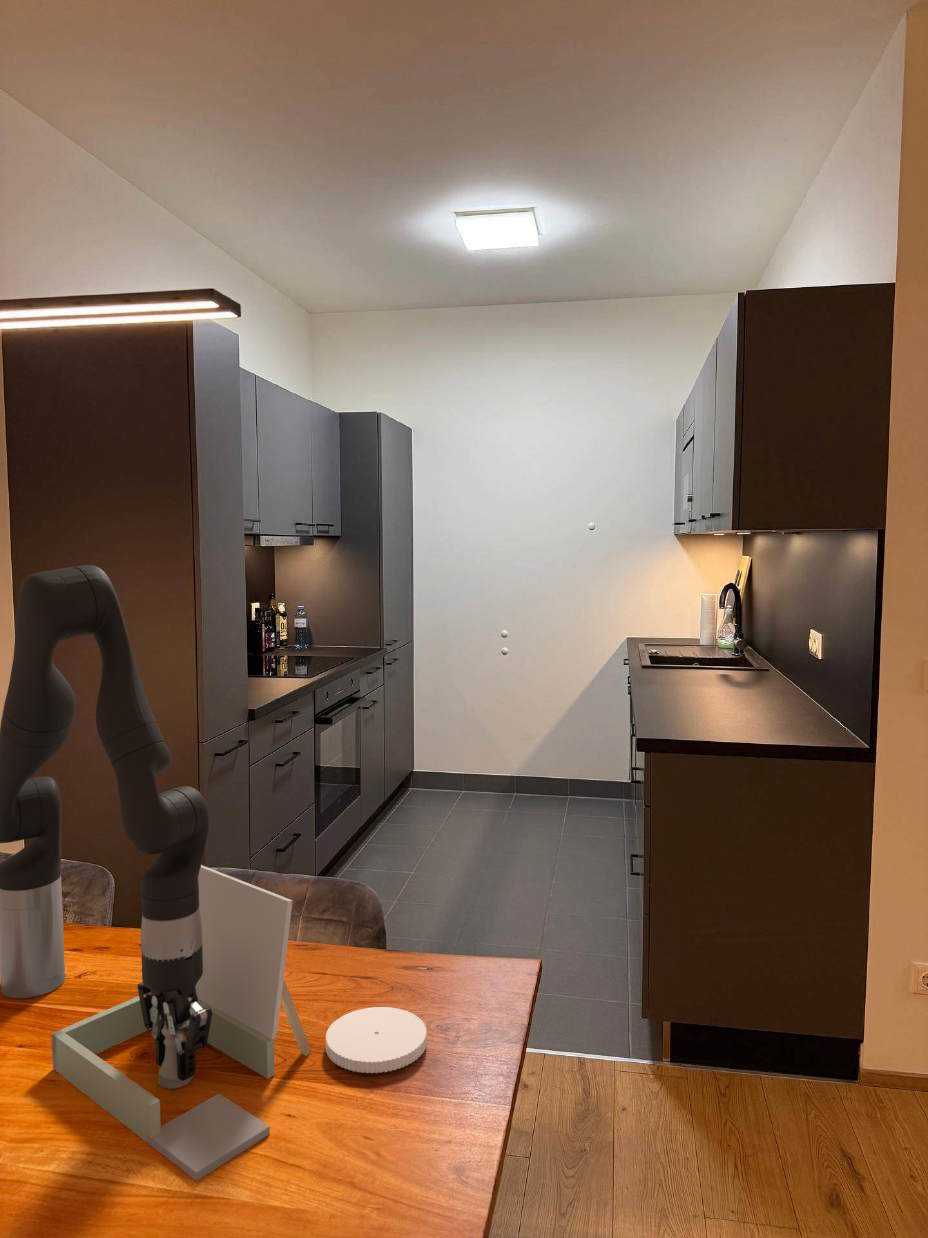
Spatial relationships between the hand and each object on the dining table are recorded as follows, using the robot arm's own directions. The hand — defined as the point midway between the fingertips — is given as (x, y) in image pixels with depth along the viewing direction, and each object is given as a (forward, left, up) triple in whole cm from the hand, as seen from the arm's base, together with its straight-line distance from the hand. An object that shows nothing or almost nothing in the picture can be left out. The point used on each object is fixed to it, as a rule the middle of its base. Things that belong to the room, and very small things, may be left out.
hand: (175, 1069), depth 116 cm
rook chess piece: (0, 0, -2) cm, 2 cm away
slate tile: (+13, -4, -1) cm, 14 cm away
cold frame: (-3, +3, -2) cm, 5 cm away
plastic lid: (+15, +22, -2) cm, 27 cm away
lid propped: (-3, +11, +3) cm, 12 cm away
